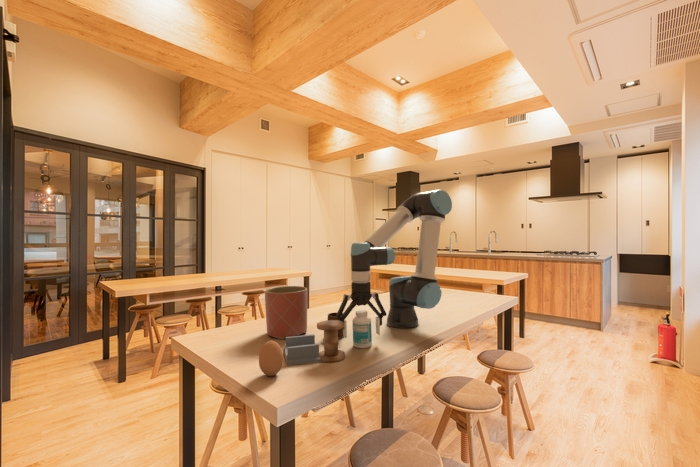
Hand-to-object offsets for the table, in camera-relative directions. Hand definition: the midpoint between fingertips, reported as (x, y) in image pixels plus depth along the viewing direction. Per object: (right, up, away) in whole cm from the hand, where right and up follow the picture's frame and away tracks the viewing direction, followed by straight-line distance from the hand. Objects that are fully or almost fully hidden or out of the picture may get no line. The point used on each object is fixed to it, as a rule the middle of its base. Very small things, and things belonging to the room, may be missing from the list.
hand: (361, 335), depth 125 cm
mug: (-10, -5, +11) cm, 15 cm away
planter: (-33, -5, +19) cm, 38 cm away
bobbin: (-11, -4, -11) cm, 16 cm away
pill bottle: (0, -4, 0) cm, 4 cm away
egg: (-30, -5, -25) cm, 39 cm away
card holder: (-22, -5, -8) cm, 24 cm away
